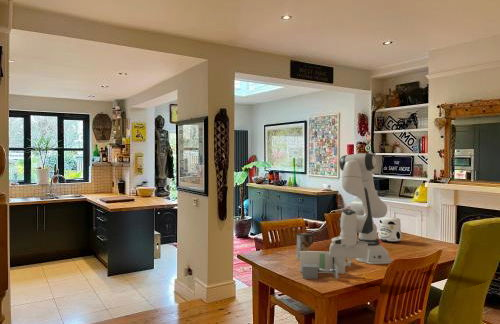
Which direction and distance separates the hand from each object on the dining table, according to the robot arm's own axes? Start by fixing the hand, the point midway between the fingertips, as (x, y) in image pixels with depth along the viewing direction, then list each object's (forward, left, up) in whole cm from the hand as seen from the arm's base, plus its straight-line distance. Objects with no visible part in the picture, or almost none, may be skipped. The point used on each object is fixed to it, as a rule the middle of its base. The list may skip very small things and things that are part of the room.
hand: (347, 265), depth 202 cm
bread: (+7, -26, -7) cm, 28 cm away
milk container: (-51, -96, -7) cm, 109 cm away
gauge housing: (+13, -4, -7) cm, 15 cm away
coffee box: (+20, -38, -7) cm, 44 cm away
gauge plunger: (+12, -2, -6) cm, 13 cm away
